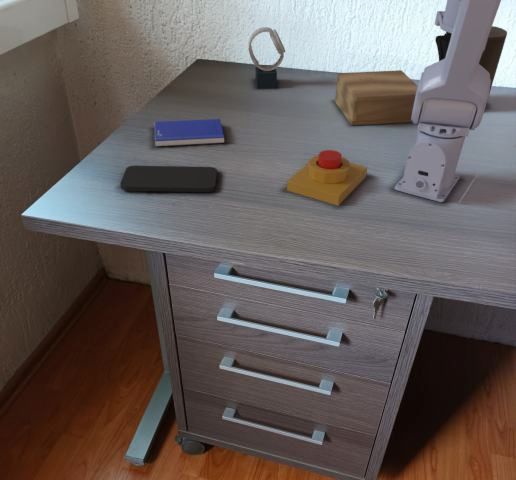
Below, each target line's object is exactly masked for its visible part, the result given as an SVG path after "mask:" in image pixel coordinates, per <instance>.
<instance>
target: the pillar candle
mask: <svg viewBox="0 0 516 480" xmlns="http://www.w3.org/2000/svg"><path fill="white" fill-rule="evenodd" d="M507 37H508V31H507V30H506V29H504V28H502V27H499V26H493V25H492V27H491V30H490V33H489V36H488V39H487V43H486V46H485V50H484V51H483V53H482V56H481V58H480V61H479V64H480V65H481V66H482V67H483V68H484V69H486V70H487V71H488V72H489V73H490V79H491V84H490V91H489V96H488V98H489V97H490V94H491V90H492V87H493V84H494V80H495V76H496V73H497V70H498V67H499V63H500V60H501V56H502V53H503V50H504V47H505V43H506V39H507ZM487 104H488V101H487V102H486V105H487Z"/></svg>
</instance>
